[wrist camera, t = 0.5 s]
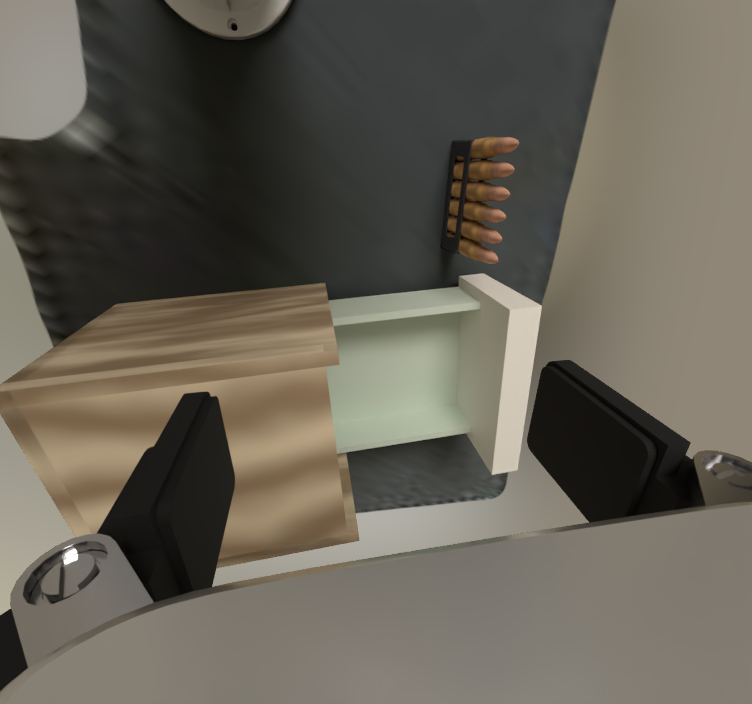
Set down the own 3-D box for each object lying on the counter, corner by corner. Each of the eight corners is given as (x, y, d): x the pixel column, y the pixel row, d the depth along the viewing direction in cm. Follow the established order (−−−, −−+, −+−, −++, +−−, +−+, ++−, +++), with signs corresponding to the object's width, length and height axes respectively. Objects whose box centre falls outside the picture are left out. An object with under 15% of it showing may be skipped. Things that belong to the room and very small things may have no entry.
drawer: (282, 294, 40) (275, 337, 30) (494, 272, 44) (556, 304, 33) (307, 434, 49) (307, 507, 38) (483, 407, 52) (529, 468, 41)
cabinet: (116, 303, 39) (-13, 393, 23) (325, 282, 42) (337, 349, 26) (172, 450, 48) (107, 589, 32) (341, 425, 51) (359, 540, 35)
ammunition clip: (455, 247, 43) (505, 271, 32) (440, 247, 43) (485, 271, 32) (469, 141, 38) (531, 129, 28) (452, 140, 38) (509, 128, 28)
